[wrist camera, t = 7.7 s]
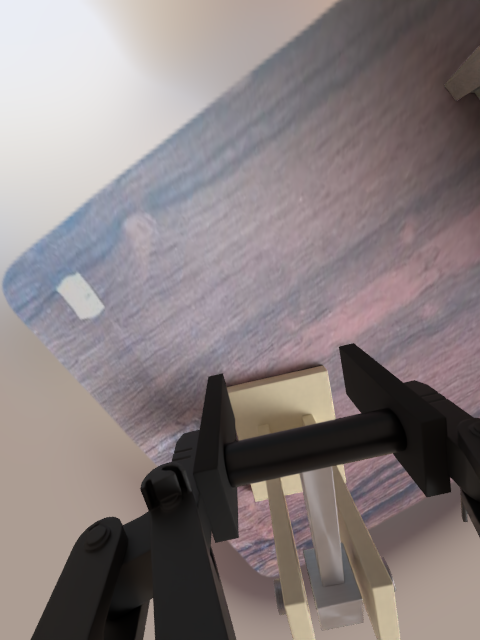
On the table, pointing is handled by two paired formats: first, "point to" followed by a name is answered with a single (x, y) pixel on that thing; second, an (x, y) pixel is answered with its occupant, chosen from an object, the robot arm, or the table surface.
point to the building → (466, 78)
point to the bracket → (283, 414)
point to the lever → (320, 493)
